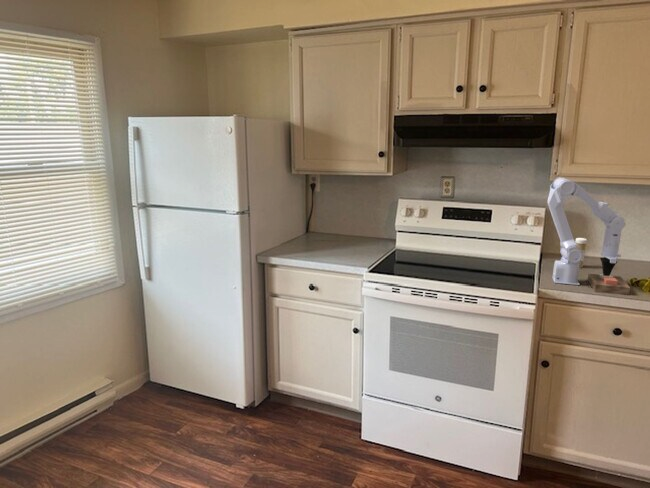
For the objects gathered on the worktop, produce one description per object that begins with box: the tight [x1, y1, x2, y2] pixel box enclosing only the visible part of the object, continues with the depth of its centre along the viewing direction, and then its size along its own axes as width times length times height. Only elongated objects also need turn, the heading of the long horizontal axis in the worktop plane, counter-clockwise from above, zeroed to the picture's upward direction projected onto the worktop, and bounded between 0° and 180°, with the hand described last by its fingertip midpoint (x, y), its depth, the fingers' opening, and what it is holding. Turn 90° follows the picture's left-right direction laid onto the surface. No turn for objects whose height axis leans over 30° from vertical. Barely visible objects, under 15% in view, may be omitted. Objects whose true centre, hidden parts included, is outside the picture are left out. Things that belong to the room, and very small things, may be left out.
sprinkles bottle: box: [574, 237, 588, 269], centre depth 224 cm, size 5×5×13 cm
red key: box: [603, 277, 618, 285], centre depth 194 cm, size 4×4×2 cm
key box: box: [587, 273, 631, 296], centre depth 197 cm, size 12×15×3 cm
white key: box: [599, 273, 613, 278], centre depth 201 cm, size 4×4×2 cm
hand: (606, 275), depth 201 cm, fingers closed, pressing on white key
